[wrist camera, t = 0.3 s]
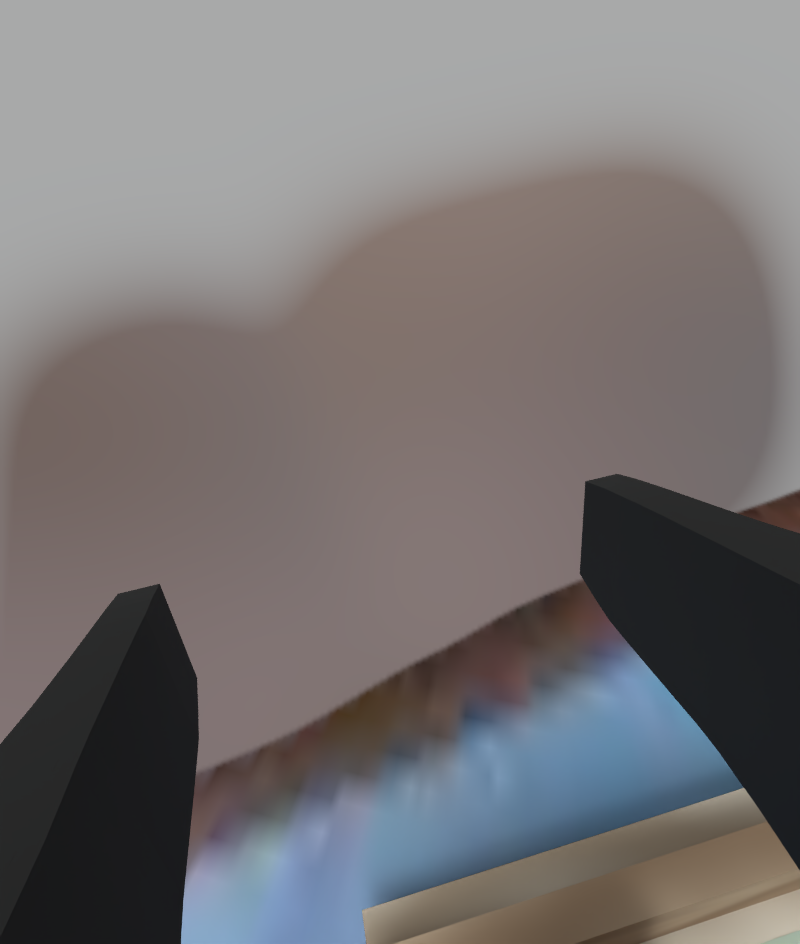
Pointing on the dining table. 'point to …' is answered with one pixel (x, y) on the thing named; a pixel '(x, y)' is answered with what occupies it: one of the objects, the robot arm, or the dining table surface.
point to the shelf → (620, 888)
